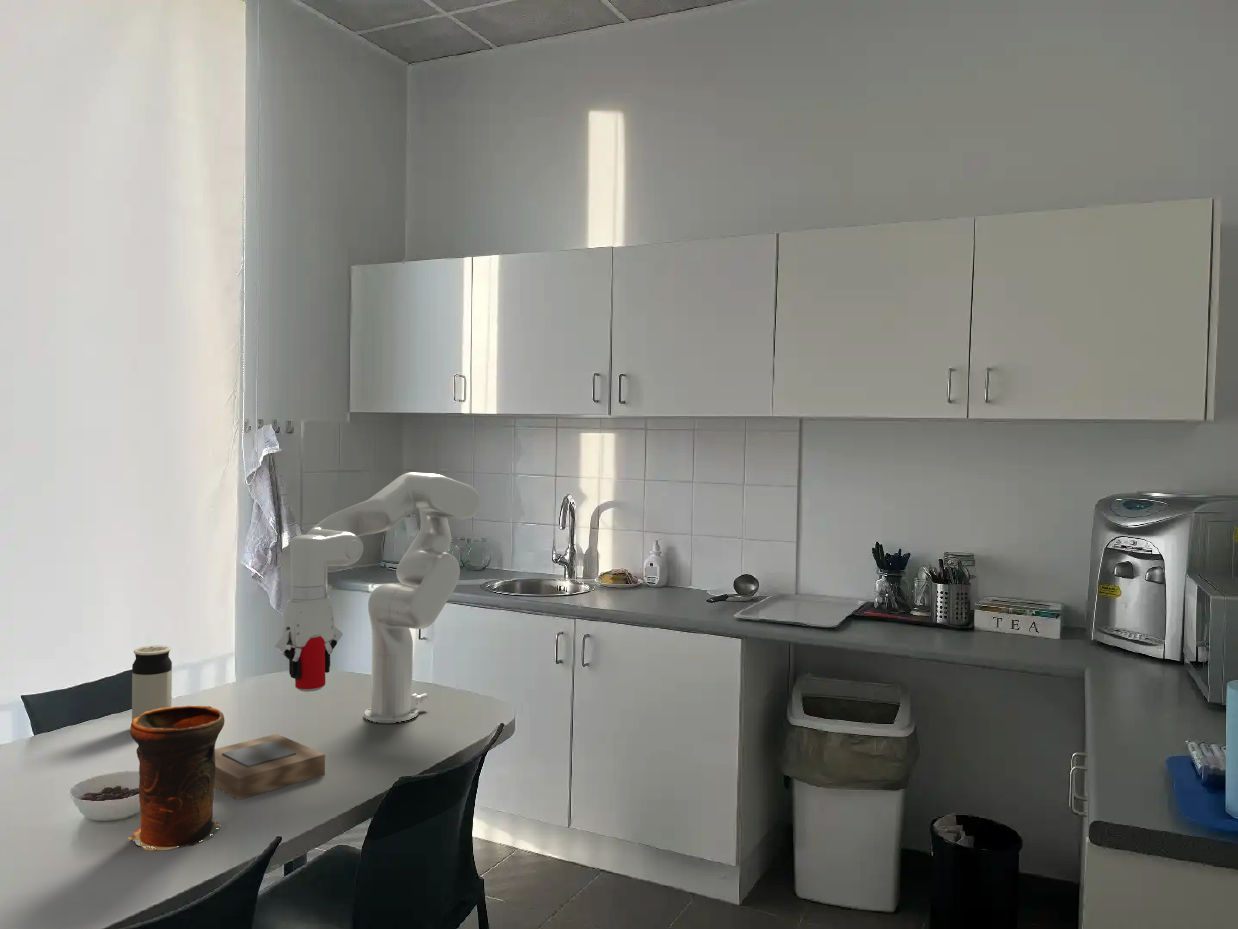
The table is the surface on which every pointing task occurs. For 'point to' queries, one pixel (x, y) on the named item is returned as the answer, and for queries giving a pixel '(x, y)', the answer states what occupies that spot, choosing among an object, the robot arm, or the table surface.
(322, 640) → the beverage can
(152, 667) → the travel mug
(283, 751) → the walnut plinth
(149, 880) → the table surface
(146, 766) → the vessel
